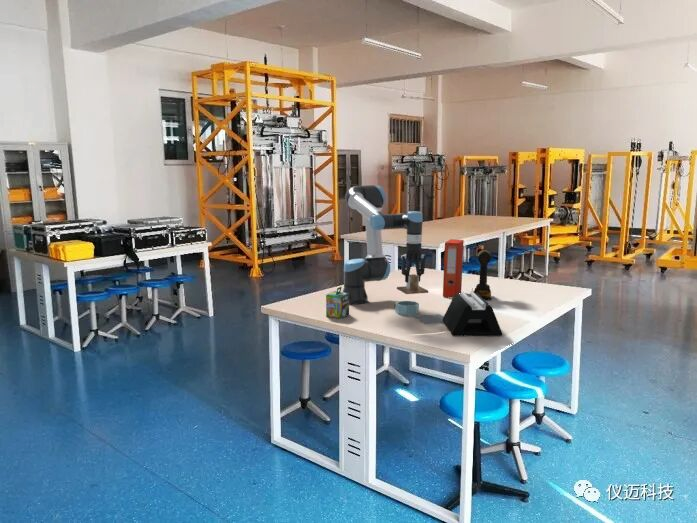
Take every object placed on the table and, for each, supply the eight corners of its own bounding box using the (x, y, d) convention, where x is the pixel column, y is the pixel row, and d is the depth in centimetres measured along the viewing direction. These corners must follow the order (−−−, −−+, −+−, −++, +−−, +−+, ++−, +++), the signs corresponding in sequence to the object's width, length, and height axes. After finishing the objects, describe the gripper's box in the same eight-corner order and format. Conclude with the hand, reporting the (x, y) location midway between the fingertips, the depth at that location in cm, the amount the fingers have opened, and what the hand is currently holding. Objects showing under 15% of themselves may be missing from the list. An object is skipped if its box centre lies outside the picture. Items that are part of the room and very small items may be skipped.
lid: (406, 294, 278) (406, 278, 277) (396, 288, 289) (397, 273, 288) (428, 292, 282) (429, 277, 280) (418, 287, 293) (418, 272, 292)
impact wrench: (470, 299, 322) (472, 251, 317) (472, 292, 342) (474, 246, 337) (495, 301, 318) (497, 252, 314) (495, 293, 338) (497, 247, 334)
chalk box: (333, 312, 292) (333, 284, 289) (349, 314, 288) (350, 286, 285) (325, 316, 284) (325, 287, 281) (341, 318, 280) (341, 289, 277)
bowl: (401, 317, 283) (401, 306, 282) (393, 312, 293) (393, 301, 292) (421, 315, 286) (421, 305, 285) (412, 310, 296) (412, 300, 296)
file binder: (461, 292, 341) (463, 239, 336) (456, 298, 325) (458, 243, 320) (448, 291, 344) (450, 239, 339) (442, 297, 328) (444, 242, 323)
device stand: (488, 321, 273) (490, 291, 270) (502, 336, 251) (504, 303, 248) (442, 321, 272) (443, 291, 270) (452, 336, 250) (453, 303, 248)
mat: (425, 325, 268) (425, 324, 268) (412, 317, 282) (412, 316, 282) (453, 322, 273) (453, 321, 273) (439, 315, 287) (439, 314, 287)
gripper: (401, 244, 275) (399, 291, 279) (432, 243, 280) (431, 289, 285) (395, 242, 282) (393, 287, 286) (426, 240, 287) (424, 285, 292)
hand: (412, 288), depth 285 cm, fingers closed on lid, 4 cm apart
